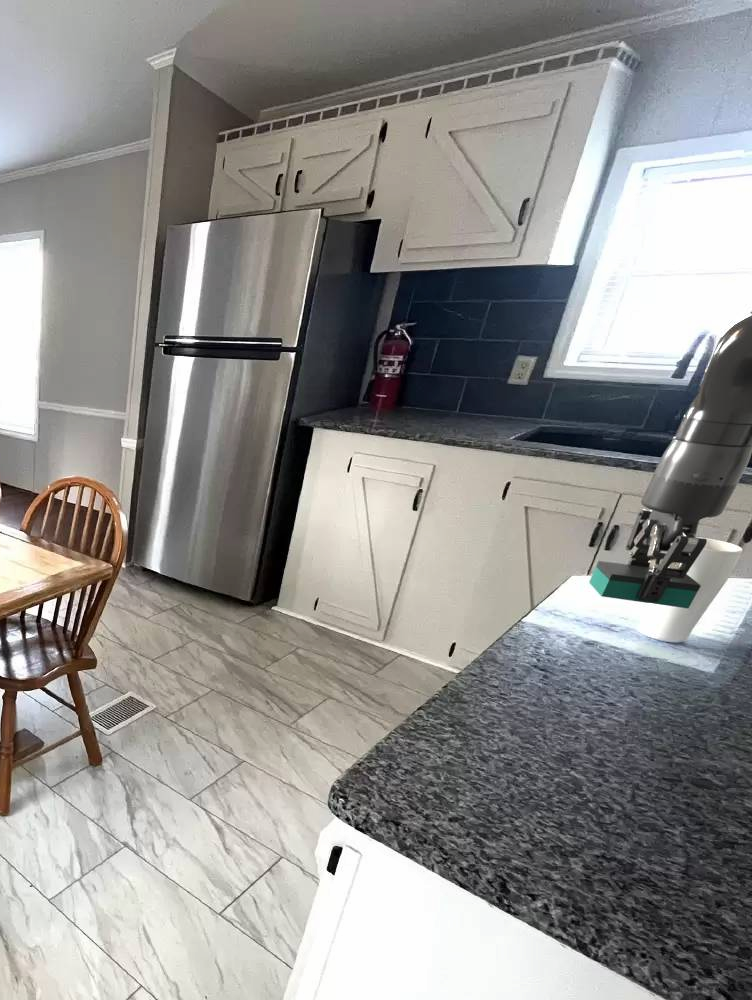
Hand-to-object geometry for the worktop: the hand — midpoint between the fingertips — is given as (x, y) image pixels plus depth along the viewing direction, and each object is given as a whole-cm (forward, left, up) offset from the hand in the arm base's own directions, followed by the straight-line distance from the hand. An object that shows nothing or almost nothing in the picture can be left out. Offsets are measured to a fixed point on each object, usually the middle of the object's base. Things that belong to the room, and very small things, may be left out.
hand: (638, 591), depth 90 cm
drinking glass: (-8, -8, -9) cm, 14 cm away
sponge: (0, 0, 0) cm, 0 cm away
